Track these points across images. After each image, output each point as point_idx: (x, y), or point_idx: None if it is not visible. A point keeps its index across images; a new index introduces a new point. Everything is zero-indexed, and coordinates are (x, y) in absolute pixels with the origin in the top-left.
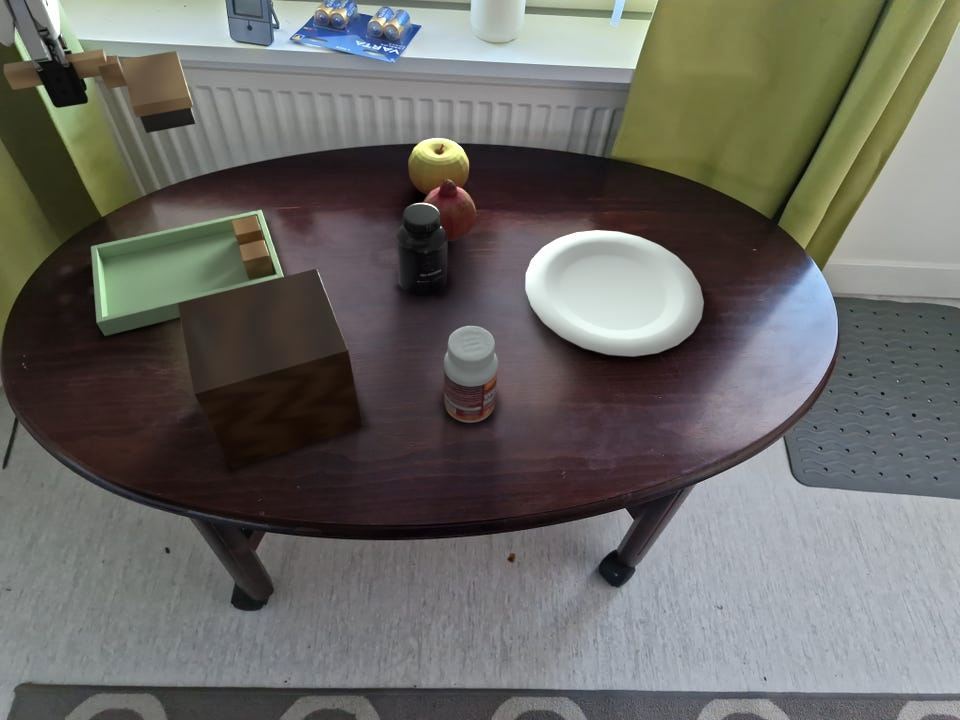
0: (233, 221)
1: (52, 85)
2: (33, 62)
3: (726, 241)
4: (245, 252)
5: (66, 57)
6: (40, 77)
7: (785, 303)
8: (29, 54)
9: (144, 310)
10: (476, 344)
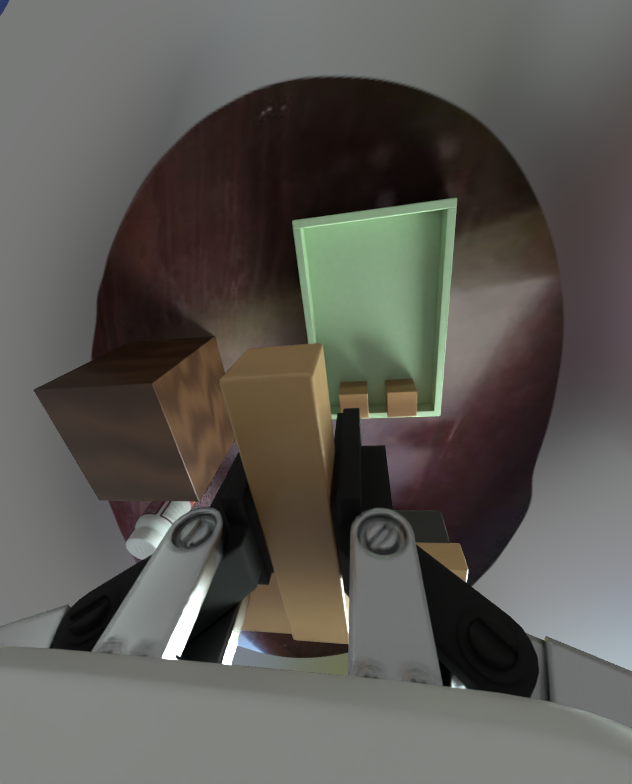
0: (414, 393)
1: (225, 482)
2: (154, 551)
3: (295, 640)
4: (352, 398)
5: (313, 573)
6: (233, 475)
7: (240, 634)
8: (136, 586)
9: (300, 280)
10: (141, 551)
